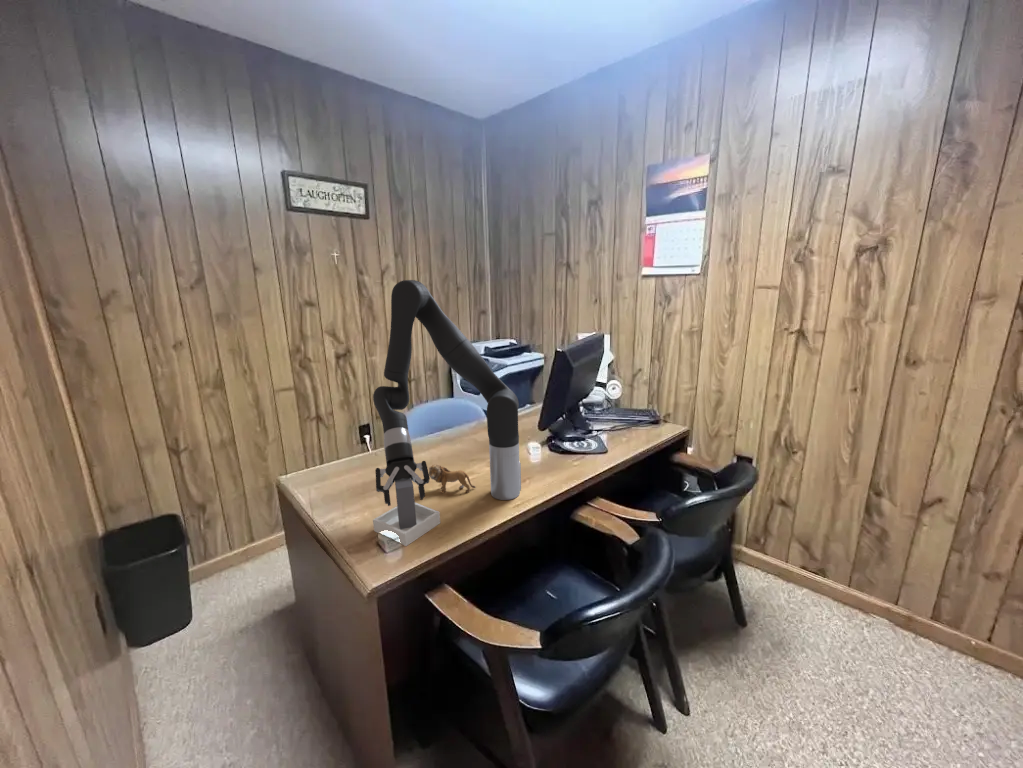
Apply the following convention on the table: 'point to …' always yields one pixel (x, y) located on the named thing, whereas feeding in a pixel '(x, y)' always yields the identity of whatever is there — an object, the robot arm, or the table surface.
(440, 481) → the lion figurine
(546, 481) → the table surface
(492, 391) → the robot arm
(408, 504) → the handle block
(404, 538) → the tray
